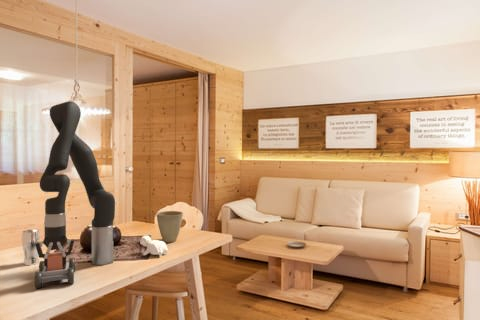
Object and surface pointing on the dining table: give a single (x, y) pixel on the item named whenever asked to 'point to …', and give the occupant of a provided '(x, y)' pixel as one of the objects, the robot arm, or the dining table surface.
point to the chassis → (55, 273)
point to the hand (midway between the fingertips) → (55, 266)
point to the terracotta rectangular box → (55, 261)
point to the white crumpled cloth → (153, 246)
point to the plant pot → (169, 224)
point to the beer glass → (30, 246)
